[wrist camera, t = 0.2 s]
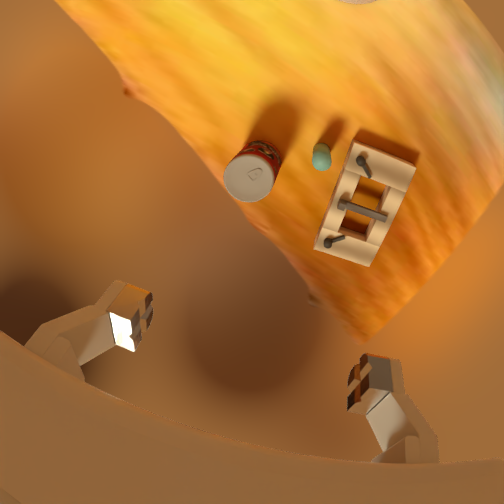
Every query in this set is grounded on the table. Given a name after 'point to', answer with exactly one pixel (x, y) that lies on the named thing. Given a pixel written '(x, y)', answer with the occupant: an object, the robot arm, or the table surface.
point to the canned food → (253, 171)
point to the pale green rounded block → (321, 157)
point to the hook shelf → (351, 242)
